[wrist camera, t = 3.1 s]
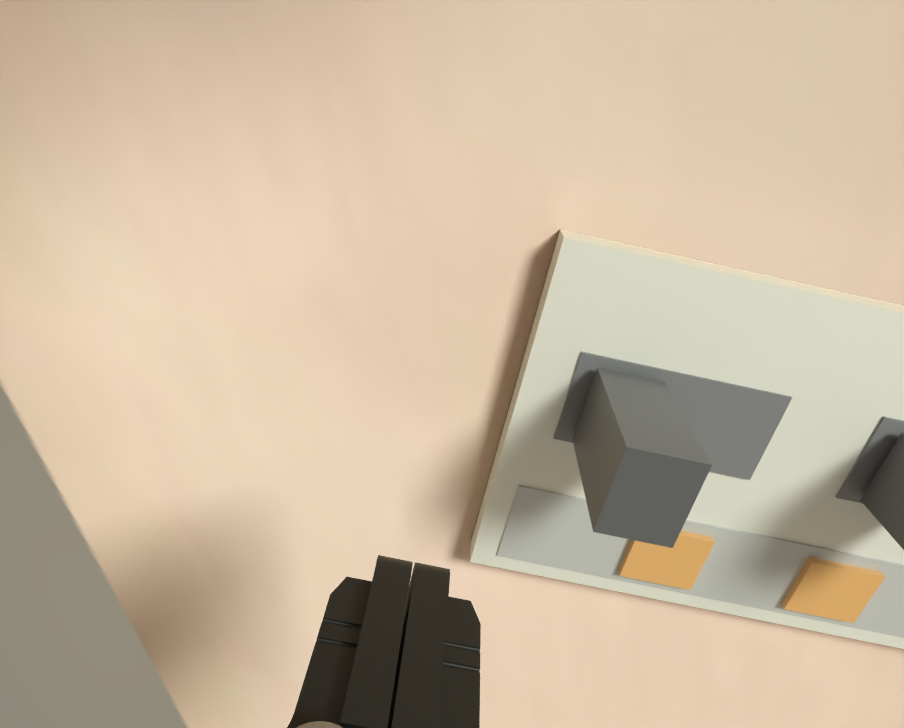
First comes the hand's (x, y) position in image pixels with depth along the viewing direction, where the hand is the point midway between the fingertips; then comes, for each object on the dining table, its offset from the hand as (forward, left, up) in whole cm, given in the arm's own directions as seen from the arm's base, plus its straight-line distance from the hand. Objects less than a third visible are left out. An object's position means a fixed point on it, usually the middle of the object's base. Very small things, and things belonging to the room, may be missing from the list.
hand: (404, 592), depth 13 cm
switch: (0, +6, -10) cm, 12 cm away
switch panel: (+1, +19, -12) cm, 23 cm away
